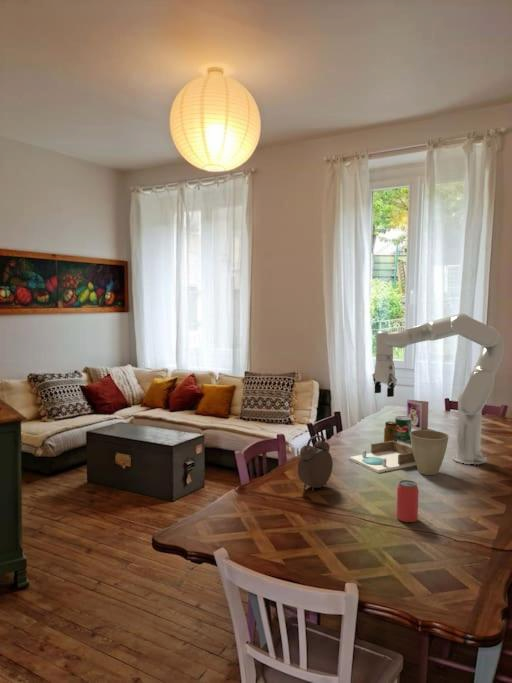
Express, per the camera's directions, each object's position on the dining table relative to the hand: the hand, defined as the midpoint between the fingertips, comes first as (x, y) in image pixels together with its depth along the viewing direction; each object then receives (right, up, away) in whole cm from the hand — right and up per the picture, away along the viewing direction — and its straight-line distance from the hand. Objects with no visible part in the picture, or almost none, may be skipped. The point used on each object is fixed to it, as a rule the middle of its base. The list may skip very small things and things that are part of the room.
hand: (384, 394), depth 233 cm
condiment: (+5, -26, +8) cm, 28 cm away
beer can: (-10, -33, -69) cm, 78 cm away
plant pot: (+11, -29, -26) cm, 41 cm away
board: (-2, -28, -13) cm, 31 cm away
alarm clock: (-37, -31, -43) cm, 65 cm away
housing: (+3, -26, -10) cm, 28 cm away
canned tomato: (+15, -25, +22) cm, 36 cm away
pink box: (+30, -23, +44) cm, 58 cm away
